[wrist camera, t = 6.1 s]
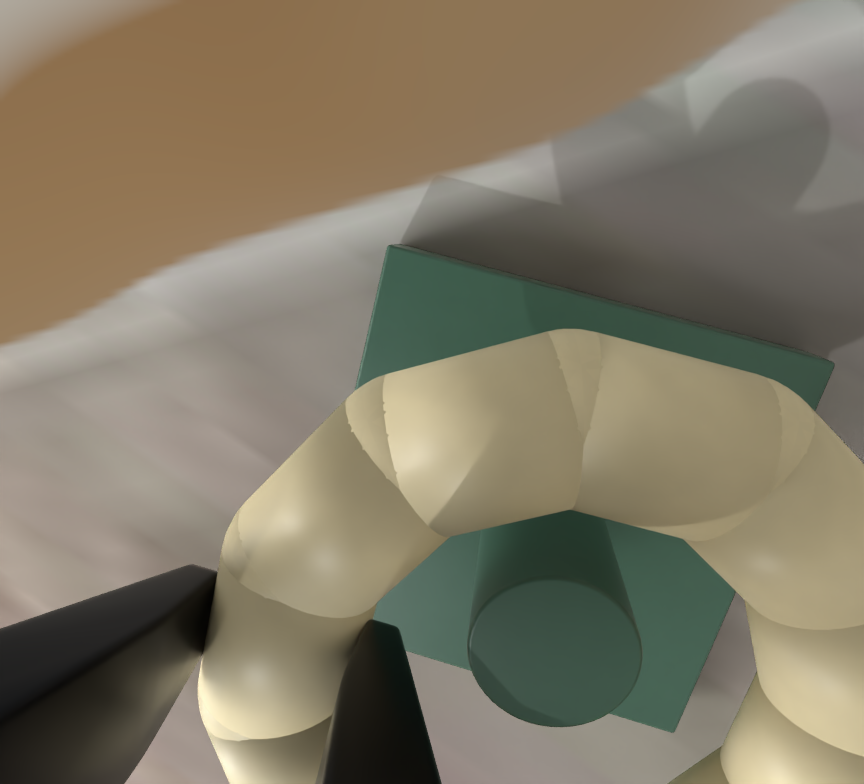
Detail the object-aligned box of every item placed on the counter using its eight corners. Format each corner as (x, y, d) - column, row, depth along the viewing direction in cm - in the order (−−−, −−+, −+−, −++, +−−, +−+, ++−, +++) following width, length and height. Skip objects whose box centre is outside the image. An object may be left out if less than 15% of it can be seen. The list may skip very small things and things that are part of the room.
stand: (663, 698, 16) (753, 985, 10) (317, 592, 16) (199, 801, 10) (809, 352, 13) (1051, 448, 7) (398, 243, 14) (306, 247, 8)
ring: (734, 937, 10) (795, 1103, 8) (197, 799, 10) (132, 934, 8) (1001, 429, 8) (1173, 495, 6) (303, 246, 8) (248, 254, 6)
